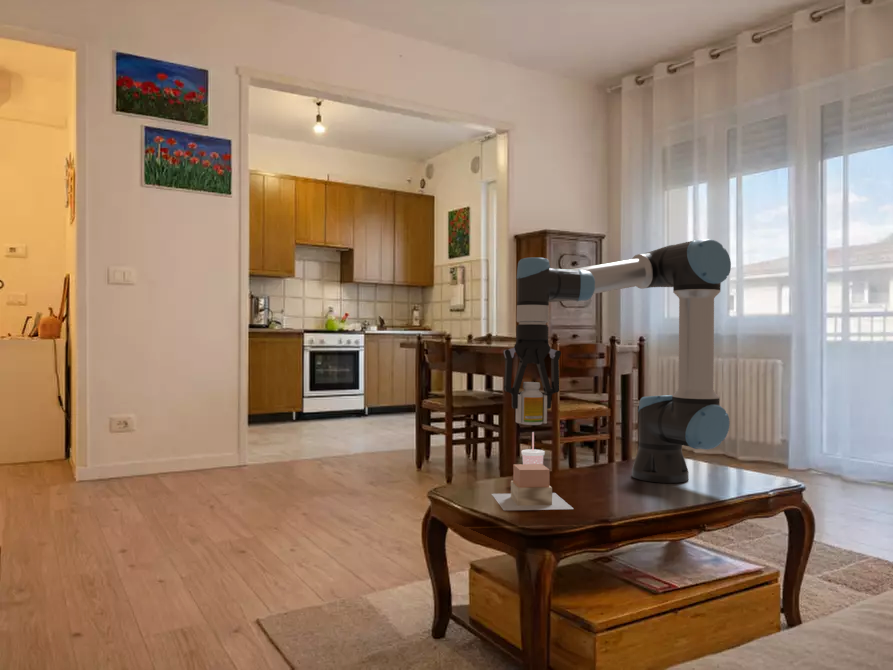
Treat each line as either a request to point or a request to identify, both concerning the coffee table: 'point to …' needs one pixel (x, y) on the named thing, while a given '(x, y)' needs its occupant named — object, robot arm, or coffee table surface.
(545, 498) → the tower base block
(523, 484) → the tower top block
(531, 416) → the supplement bottle
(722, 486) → the coffee table surface
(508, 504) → the tower mat
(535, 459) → the beverage cup
